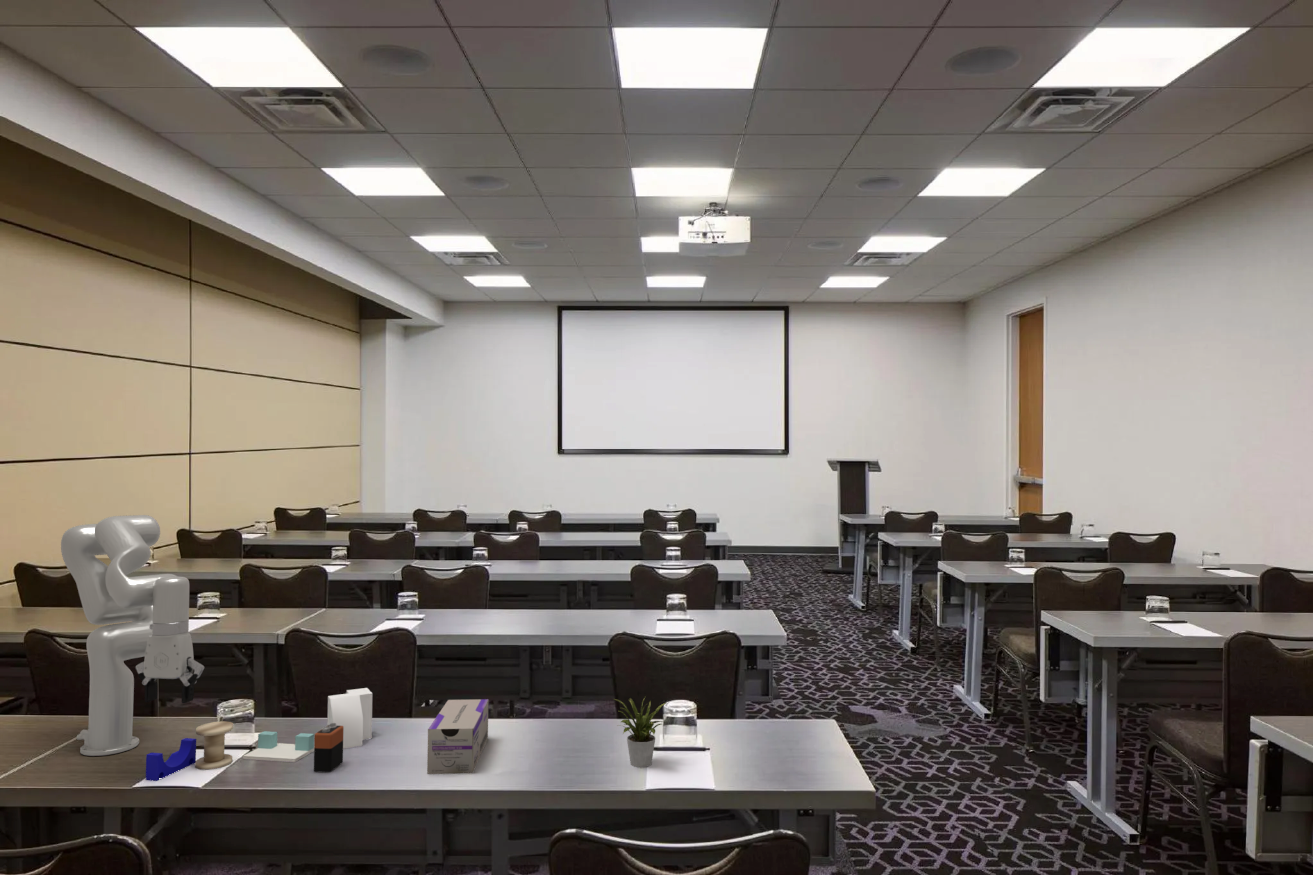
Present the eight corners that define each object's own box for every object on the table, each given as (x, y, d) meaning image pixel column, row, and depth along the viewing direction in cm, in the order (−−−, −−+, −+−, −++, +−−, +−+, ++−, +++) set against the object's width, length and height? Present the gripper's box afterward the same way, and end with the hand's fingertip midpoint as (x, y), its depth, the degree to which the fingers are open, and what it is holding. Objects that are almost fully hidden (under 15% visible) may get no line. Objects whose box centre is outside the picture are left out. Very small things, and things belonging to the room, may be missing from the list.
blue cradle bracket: (179, 762, 199) (180, 737, 200) (195, 763, 199) (196, 738, 199) (140, 780, 188) (140, 754, 188) (156, 781, 187) (157, 755, 187)
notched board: (243, 759, 201) (243, 741, 201) (268, 745, 211) (268, 728, 211) (295, 762, 199) (295, 744, 199) (317, 748, 209) (318, 731, 209)
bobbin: (187, 768, 195) (188, 730, 195) (210, 757, 202) (211, 720, 203) (217, 770, 193) (218, 732, 194) (239, 758, 201) (240, 722, 202)
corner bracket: (366, 731, 223) (366, 687, 223) (375, 743, 213) (376, 697, 214) (324, 738, 217) (325, 693, 218) (332, 750, 208) (333, 703, 208)
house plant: (597, 769, 195) (597, 700, 196) (620, 750, 208) (620, 686, 209) (651, 777, 190) (652, 706, 191) (672, 758, 203) (672, 692, 203)
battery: (312, 772, 192) (313, 729, 193) (326, 762, 199) (327, 721, 200) (330, 772, 192) (331, 730, 193) (343, 762, 199) (344, 721, 199)
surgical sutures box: (472, 774, 192) (473, 728, 193) (427, 774, 192) (427, 729, 192) (487, 739, 217) (488, 699, 218) (447, 740, 217) (448, 699, 217)
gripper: (126, 631, 192) (124, 704, 191) (192, 632, 190) (190, 706, 189) (150, 625, 200) (148, 696, 199) (214, 626, 197) (212, 697, 196)
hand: (169, 701), depth 194 cm, fingers open, 9 cm apart
